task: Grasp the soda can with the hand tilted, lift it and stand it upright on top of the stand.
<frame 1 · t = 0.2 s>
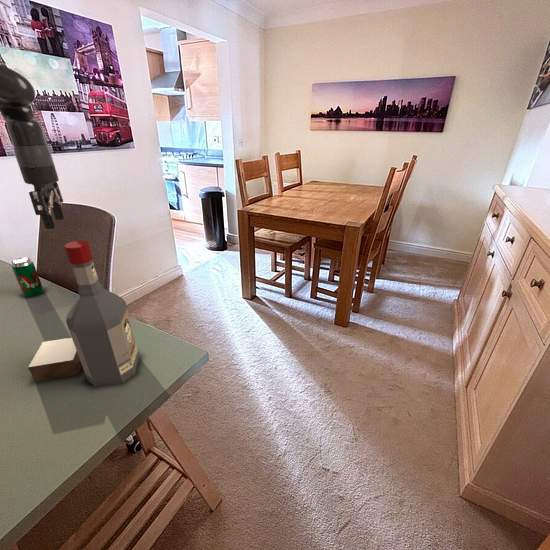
hand: (55, 223, 86), 22 cm above the table, tool pointing down, fingers open, 8 cm apart
stand: (64, 367, 67), on the table
liquor: (115, 372, 66), on the table
soda can: (35, 296, 93), on the table
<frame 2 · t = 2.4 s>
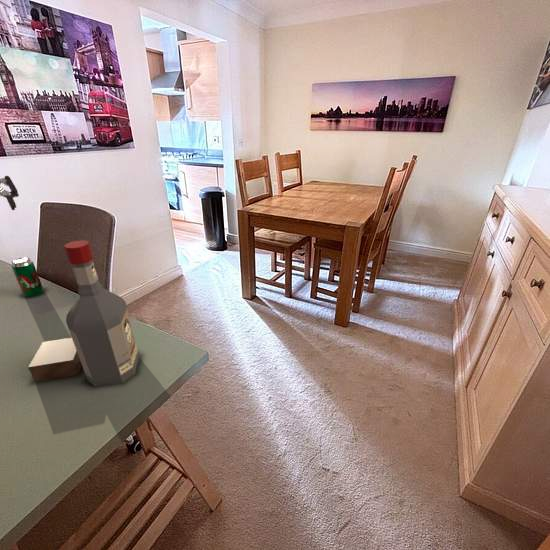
nothing on the table moved.
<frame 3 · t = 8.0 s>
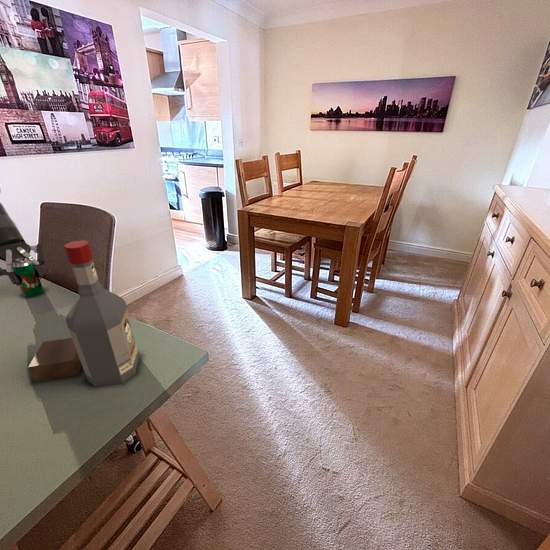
hand: (30, 280, 89), 6 cm above the table, tool tilted 45°, fingers closed on soda can, 5 cm apart
soda can: (35, 296, 93), on the table, touching gripper
everything else where it was.
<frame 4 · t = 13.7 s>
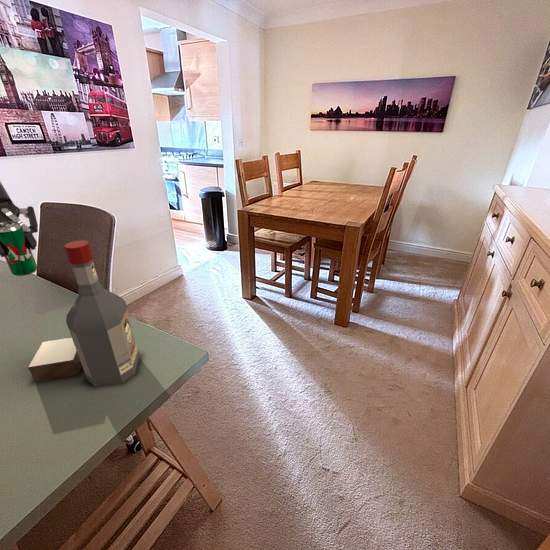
hand: (19, 251, 69), 22 cm above the table, tool tilted 45°, fingers closed on soda can, 5 cm apart
soda can: (25, 272, 73), point 16 cm above the table, touching gripper
everything else where it was.
when the fingers open (11 cm above the table, at t = 19.7 s): soda can stays where it is, resting on stand.
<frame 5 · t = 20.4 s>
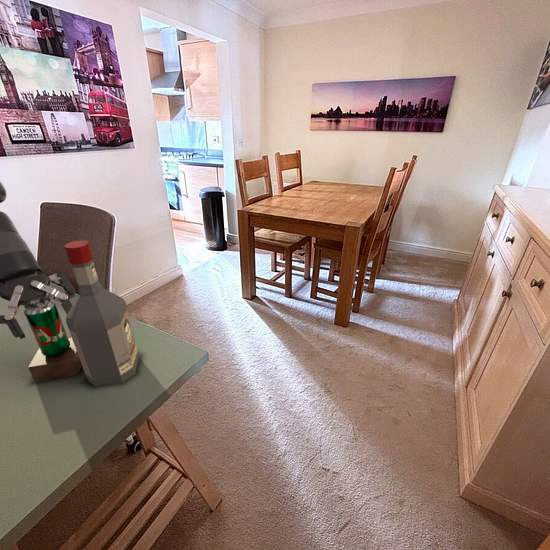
hand: (48, 327, 60), 12 cm above the table, tool tilted 45°, fingers open, 8 cm apart
soda can: (57, 350, 65), point 5 cm above the table, touching stand
everything else where it was.
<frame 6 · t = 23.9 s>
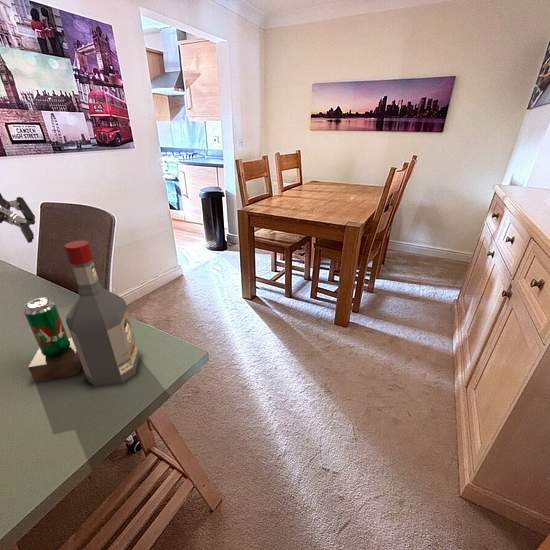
hand: (6, 246, 63), 25 cm above the table, tool tilted 45°, fingers open, 8 cm apart
nothing on the table moved.
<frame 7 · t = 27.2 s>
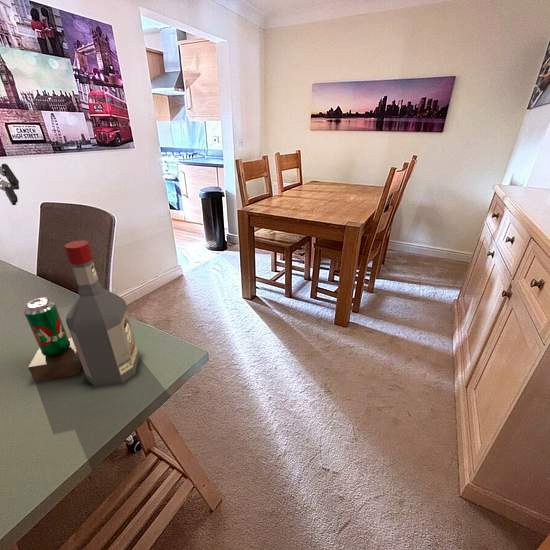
nothing on the table moved.
at the end: soda can 0.1 cm off-centre on the stand, point 4.8 cm above the stand's base; soda can tilted 0°; the gripper is holding nothing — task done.
